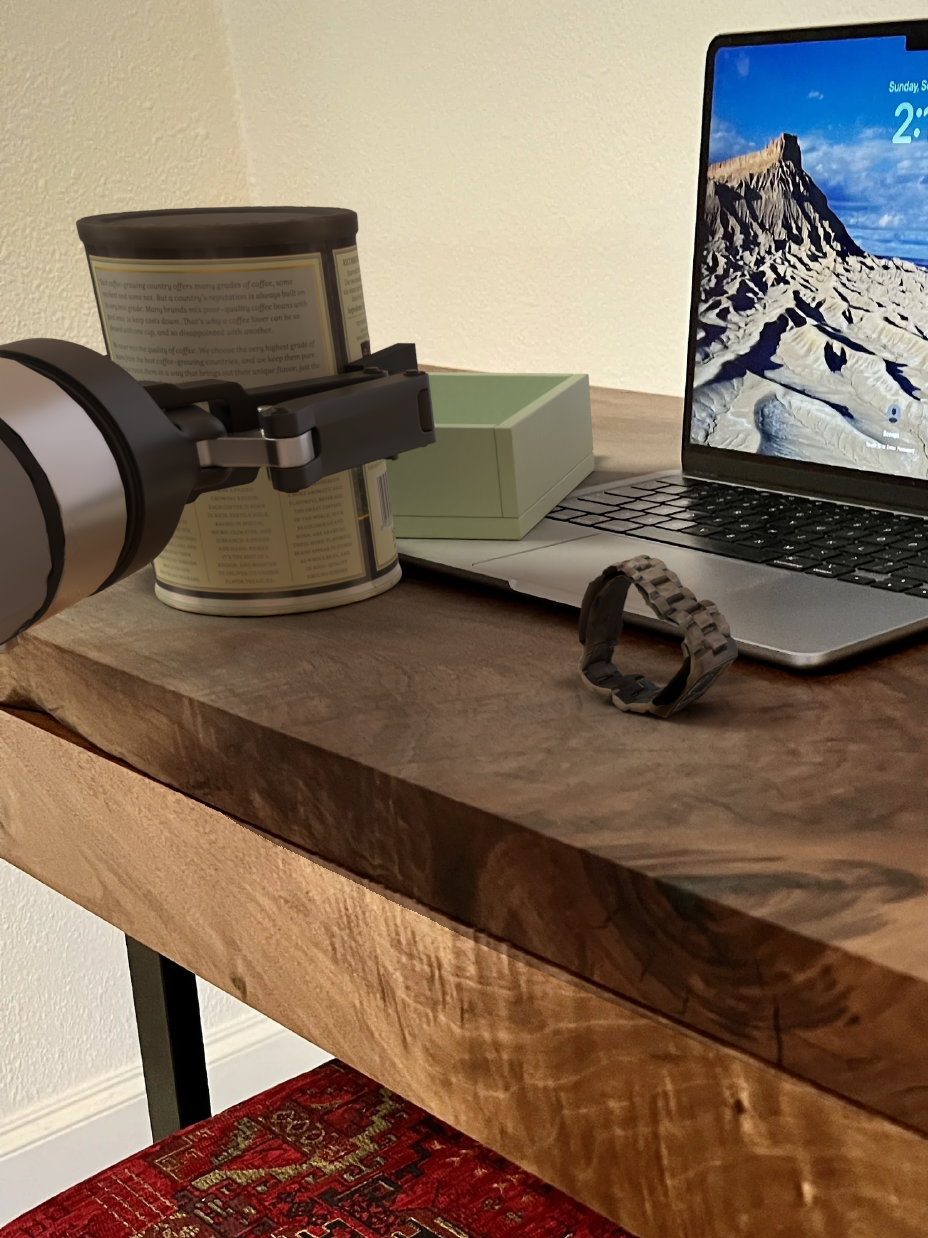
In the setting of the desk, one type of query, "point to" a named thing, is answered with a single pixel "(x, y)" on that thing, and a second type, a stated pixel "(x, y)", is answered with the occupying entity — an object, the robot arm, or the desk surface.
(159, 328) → the coffee can
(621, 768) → the desk surface
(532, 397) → the drawer tray
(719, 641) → the wristwatch
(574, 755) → the desk surface
